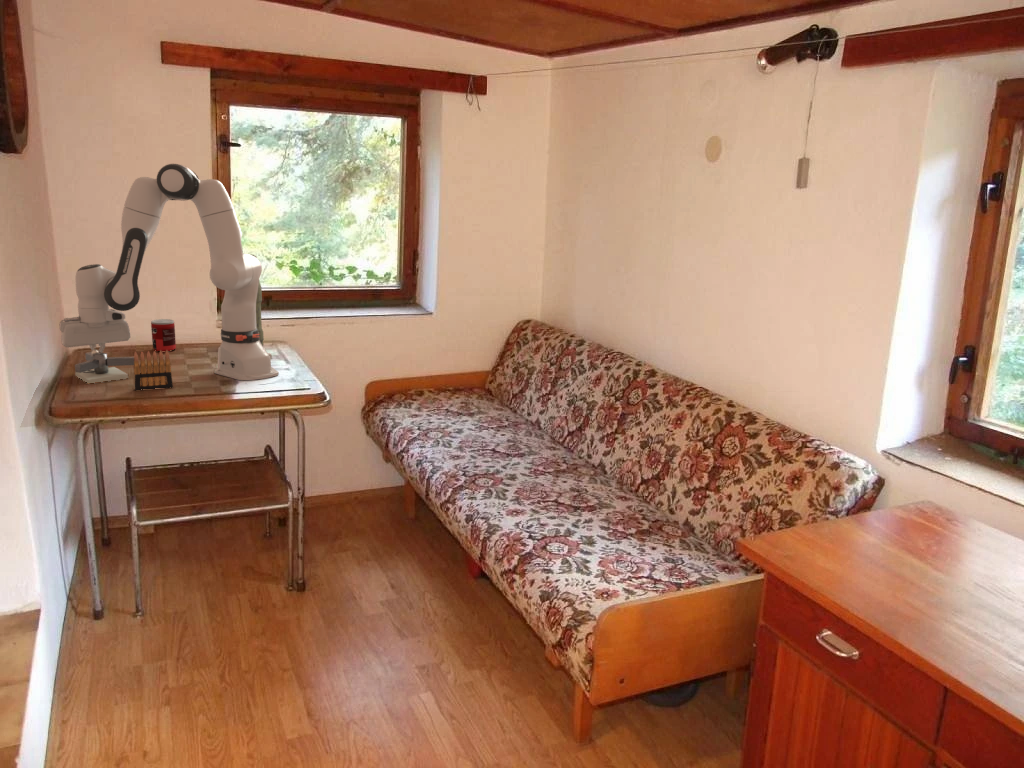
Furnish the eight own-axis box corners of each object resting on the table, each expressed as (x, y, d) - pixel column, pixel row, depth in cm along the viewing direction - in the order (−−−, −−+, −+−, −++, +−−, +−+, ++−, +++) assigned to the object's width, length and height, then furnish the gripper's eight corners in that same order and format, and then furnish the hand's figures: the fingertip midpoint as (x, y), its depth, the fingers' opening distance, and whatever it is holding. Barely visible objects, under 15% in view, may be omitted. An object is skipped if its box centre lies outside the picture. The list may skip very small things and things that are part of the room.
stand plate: (128, 378, 261) (127, 373, 260) (88, 384, 252) (87, 379, 252) (115, 371, 269) (114, 366, 268) (75, 376, 261) (75, 371, 260)
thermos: (263, 342, 320) (259, 253, 311) (264, 349, 309) (260, 256, 300) (239, 343, 317) (235, 253, 308) (239, 349, 306) (235, 256, 297)
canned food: (156, 347, 304) (154, 318, 301) (178, 348, 305) (176, 319, 302) (150, 352, 297) (147, 322, 294) (172, 352, 298) (170, 323, 295)
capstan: (137, 371, 263) (136, 350, 261) (78, 380, 250) (75, 358, 248) (118, 362, 273) (116, 342, 272) (59, 370, 260) (57, 349, 259)
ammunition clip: (172, 386, 254) (169, 349, 251) (173, 387, 253) (170, 350, 250) (134, 389, 249) (131, 351, 246) (135, 390, 248) (132, 352, 245)
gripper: (61, 320, 252) (66, 363, 256) (130, 313, 266) (133, 354, 270) (55, 317, 257) (60, 359, 260) (123, 310, 270) (127, 351, 274)
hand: (98, 357), depth 265 cm, fingers closed
